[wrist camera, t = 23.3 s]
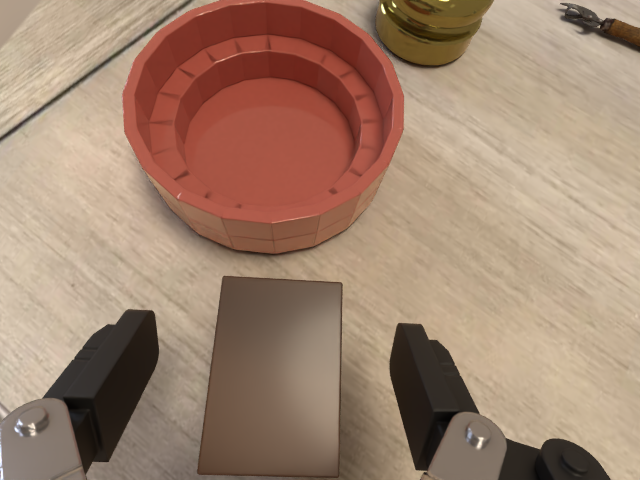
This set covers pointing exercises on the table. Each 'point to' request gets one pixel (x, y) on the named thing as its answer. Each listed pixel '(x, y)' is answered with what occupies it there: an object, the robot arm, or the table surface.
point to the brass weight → (429, 28)
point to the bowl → (264, 121)
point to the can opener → (606, 24)
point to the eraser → (274, 380)
